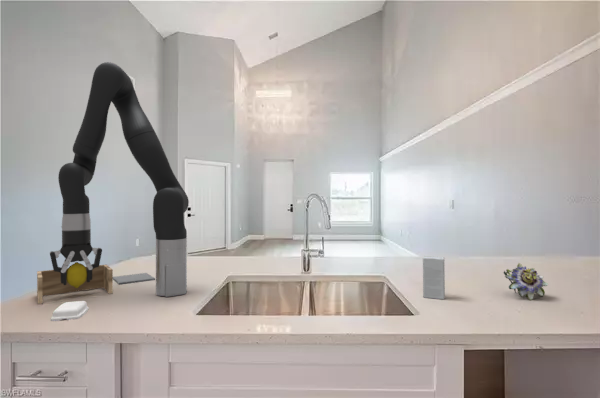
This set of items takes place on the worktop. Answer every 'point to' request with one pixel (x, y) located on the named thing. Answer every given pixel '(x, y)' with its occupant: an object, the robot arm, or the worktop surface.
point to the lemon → (76, 274)
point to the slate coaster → (133, 278)
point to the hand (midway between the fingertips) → (76, 283)
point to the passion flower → (526, 281)
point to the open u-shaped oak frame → (52, 285)
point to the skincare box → (433, 277)
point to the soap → (70, 311)
